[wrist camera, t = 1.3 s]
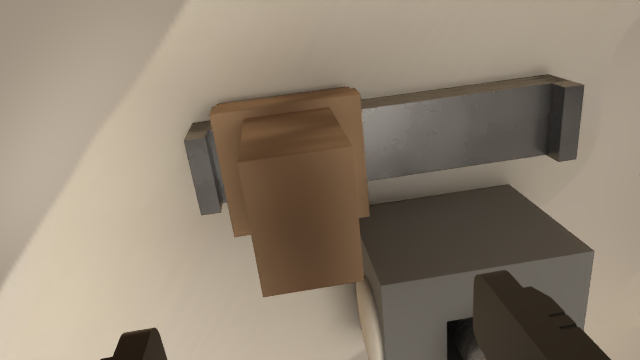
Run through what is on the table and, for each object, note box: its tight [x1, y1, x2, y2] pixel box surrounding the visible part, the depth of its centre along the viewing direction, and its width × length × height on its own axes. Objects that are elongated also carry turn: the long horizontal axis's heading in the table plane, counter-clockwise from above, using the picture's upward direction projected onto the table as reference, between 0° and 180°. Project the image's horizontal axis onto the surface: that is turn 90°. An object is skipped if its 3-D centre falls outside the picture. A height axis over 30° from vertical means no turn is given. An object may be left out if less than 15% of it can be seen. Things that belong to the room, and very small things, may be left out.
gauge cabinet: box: [356, 185, 594, 360], centre depth 26 cm, size 10×9×8 cm
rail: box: [184, 75, 584, 215], centre depth 25 cm, size 20×4×3 cm, turn 97°
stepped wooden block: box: [209, 87, 370, 297], centre depth 21 cm, size 7×6×9 cm
